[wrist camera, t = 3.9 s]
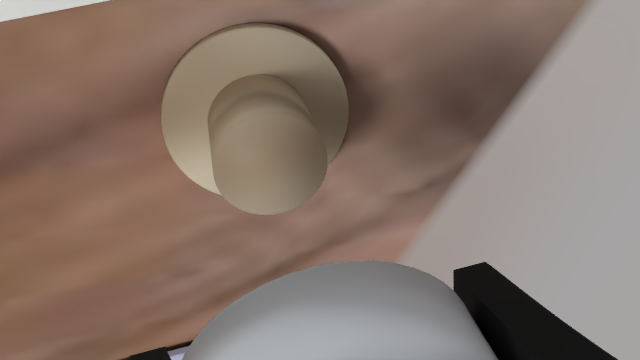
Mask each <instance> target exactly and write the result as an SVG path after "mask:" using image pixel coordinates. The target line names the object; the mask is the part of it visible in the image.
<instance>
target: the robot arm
mask: <svg viewBox="0 0 640 360" xmlns="http://www.w3.org/2000/svg"><path fill="white" fill-rule="evenodd" d="M454 292H455V293H456V294H457V295H458V296H459V298H460V299H461V300H462V301H463V303H464V304H465V306H466V308H467V309H468V311H469V312H470V314H471V316H472V317H473V319H474V321H475V322H476V324H477V326H478V327H479V329H480V330H481V332H482V334H483V335H484V337H485V339H486V340H487V342H488V344H489V345H490V347H491V349H492V350H493V352H494V353H495V355H496V357H497V358H498V360H618V359H616V358H615V357H613V356H612V355H610V354H609V353H607V352H606V351H604V350H603V349H601V348H600V347H598V346H597V345H596V344H594V343H593V342H591V341H590V340H589V339H587V338H586V337H584V336H583V335H581V334H580V333H579V332H577V331H576V330H575V329H573V328H572V327H570V326H569V325H568V324H566V323H565V322H563V321H562V320H560V319H559V318H558V317H557V316H555V315H554V314H552V313H551V312H550V311H549V310H547V309H546V308H545V307H543V306H542V305H540V304H539V303H538V302H537V301H535V300H534V299H533V298H531V297H530V296H529V295H528V294H526V293H525V292H524V291H522V290H521V289H519V287H517V286H516V285H515V284H513V283H512V282H511V281H510V280H508V279H507V278H506V277H505V276H503V275H502V274H501V273H499V272H498V271H497V270H495V269H494V268H493V267H492V266H490V265H489V264H487V263H486V262H483V263H479V264H475V265H472V266H468V267H464V268H460V269H456V270H454ZM188 348H189V346H187V347H183V348H179V349H175V350H172V351H168V352H167V349H166V347H162V348H158V349H154V350H151V351H147V352H143V353H139V354H136V355H132V356H130V357H129V358H128V359H127V360H182V359H183V357H184V355H185V352H186V351H187V349H188Z"/></svg>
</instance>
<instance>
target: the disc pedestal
mask: <svg viewBox="0 0 640 360" xmlns="http://www.w3.org/2000/svg"><path fill="white" fill-rule="evenodd" d="M348 118H349V101H348V96H347V91H346V88H345V85H344V82H343V79H342V78H341V76H340V74H339V72H338V70H337V68H336V67H335V65H334V64H333V63H332V61H331V60H330V58H329V57H328V56H327V54H326V53H325V52H324V51H323V50H322V49H321V48H320V47H319V46H318V45H317V44H315V43H314V42H313V41H312V40H310V39H309V38H307V37H306V36H304V35H302V34H300V33H299V32H296V31H294V30H291V29H289V28H286V27H282V26H279V25H274V24H266V23H246V24H239V25H234V26H230V27H227V28H223V29H221V30H219V31H216V32H214V33H211V34H210V35H208V36H206V37H205V38H203V39H201V40H200V41H198V42H197V43H196V44H195V45H193V46H192V47H191V48H190V49H189V50H188V51H187V52H186V53H185V54H184V55H183V56H182V57H181V58H180V60H179V61H178V62H177V64H176V65H175V67H174V68H173V70H172V72H171V74H170V76H169V78H168V80H167V83H166V86H165V89H164V93H163V99H162V113H161V123H162V132H163V136H164V140H165V143H166V146H167V148H168V150H169V153H170V155H171V156H172V158H173V160H174V161H175V163H176V164H177V165H178V166H179V168H180V169H181V170H182V171H183V172H184V173H185V174H186V175H187V176H188V177H189V178H190V179H191V180H193V181H194V182H196V183H197V184H198V185H200V186H202V187H204V188H205V189H207V190H209V191H212V192H214V193H217V194H219V195H222V196H223V197H224V198H225V199H226V200H227V201H228V202H229V203H231V204H232V205H233V206H235V207H237V208H239V209H240V210H243V211H246V212H249V213H253V214H260V215H271V214H278V213H283V212H286V211H289V210H292V209H294V208H296V207H298V206H300V205H301V204H303V203H304V202H306V201H307V200H308V199H309V198H310V197H312V196H313V195H314V193H315V192H316V191H317V190H318V188H319V187H320V186H321V184H322V182H323V180H324V177H325V175H326V171H327V166H328V164H329V163H330V162H331V161H332V159H333V158H334V156H335V155H336V154H337V152H338V150H339V148H340V146H341V144H342V142H343V139H344V137H345V134H346V130H347V126H348Z"/></svg>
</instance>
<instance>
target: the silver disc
mask: <svg viewBox="0 0 640 360" xmlns="http://www.w3.org/2000/svg"><path fill="white" fill-rule="evenodd" d="M182 360H498V358H497V357H496V355H495V353H494V352H493V350H492V349H491V347H490V345H489V344H488V342H487V340H486V339H485V337H484V335H483V334H482V332H481V330H480V329H479V327H478V326H477V324H476V322H475V321H474V319H473V317H472V316H471V314H470V312H469V311H468V309H467V308H466V306H465V304H464V303H463V301H462V300H461V299H460V298H459V296H458V295H457V294H456V293H455V292H454V291H453V290H452V289H451V288H450V287H449V286H447V285H446V284H445V283H444V282H442V281H441V280H439V279H437V278H435V277H434V276H432V275H430V274H428V273H426V272H423V271H421V270H418V269H416V268H413V267H409V266H404V265H400V264H396V263H388V262H380V261H348V262H339V263H330V264H325V265H320V266H316V267H311V268H307V269H304V270H300V271H297V272H294V273H291V274H287V275H285V276H282V277H280V278H278V279H275V280H273V281H270V282H268V283H266V284H263V285H262V286H260V287H258V288H256V289H254V290H252V291H251V292H249V293H247V294H245V295H243V296H242V297H240V298H239V299H238V300H236V301H235V302H233V303H232V304H230V305H229V306H227V307H226V308H225V309H224V310H222V311H221V312H220V313H219V314H218V315H217V316H215V317H214V318H213V319H212V320H211V321H210V322H209V323H208V324H207V325H206V326H205V327H204V328H203V329H202V330H201V332H200V333H199V334H198V335H197V336H196V337H195V339H194V340H193V342H192V343H191V345H190V346H189V348H188V349H187V351H186V352H185V355H184V357H183V359H182Z"/></svg>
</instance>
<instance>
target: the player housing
mask: <svg viewBox="0 0 640 360" xmlns="http://www.w3.org/2000/svg"><path fill="white" fill-rule="evenodd" d="M103 1H108V0H0V22H1V21H6V20H12V19H17V18H22V17H27V16H32V15H37V14H42V13H47V12H52V11H57V10H63V9H68V8H73V7H78V6H83V5H88V4H93V3H98V2H103Z"/></svg>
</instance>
